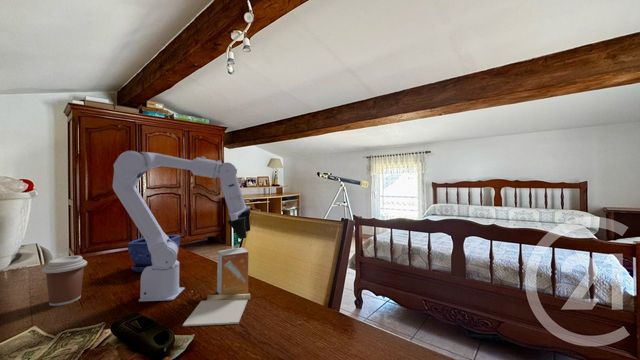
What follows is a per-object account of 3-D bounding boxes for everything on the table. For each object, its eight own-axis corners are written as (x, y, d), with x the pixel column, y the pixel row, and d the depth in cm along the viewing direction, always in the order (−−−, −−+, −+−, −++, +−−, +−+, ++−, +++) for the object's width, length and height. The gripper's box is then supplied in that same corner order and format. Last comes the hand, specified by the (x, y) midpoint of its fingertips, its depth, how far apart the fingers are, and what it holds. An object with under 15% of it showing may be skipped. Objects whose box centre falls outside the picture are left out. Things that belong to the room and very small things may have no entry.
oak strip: (207, 301, 72) (207, 296, 72) (208, 300, 73) (208, 295, 73) (249, 299, 73) (249, 294, 73) (250, 298, 74) (250, 293, 74)
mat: (182, 326, 60) (182, 324, 60) (201, 302, 72) (201, 300, 72) (238, 323, 61) (238, 322, 61) (247, 300, 73) (247, 298, 73)
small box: (221, 300, 73) (221, 255, 73) (216, 291, 79) (217, 250, 79) (248, 293, 78) (248, 251, 78) (242, 286, 83) (243, 246, 83)
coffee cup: (34, 304, 70) (35, 261, 70) (76, 291, 79) (76, 253, 79) (52, 311, 67) (52, 266, 67) (93, 296, 75) (94, 256, 75)
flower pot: (161, 274, 93) (161, 242, 93) (125, 274, 93) (126, 242, 93) (181, 263, 106) (181, 234, 106) (150, 262, 106) (150, 234, 106)
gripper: (241, 197, 78) (253, 238, 80) (249, 191, 93) (259, 225, 94) (218, 203, 78) (231, 244, 79) (230, 196, 92) (241, 230, 94)
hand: (245, 234), depth 87 cm, fingers open, 7 cm apart
